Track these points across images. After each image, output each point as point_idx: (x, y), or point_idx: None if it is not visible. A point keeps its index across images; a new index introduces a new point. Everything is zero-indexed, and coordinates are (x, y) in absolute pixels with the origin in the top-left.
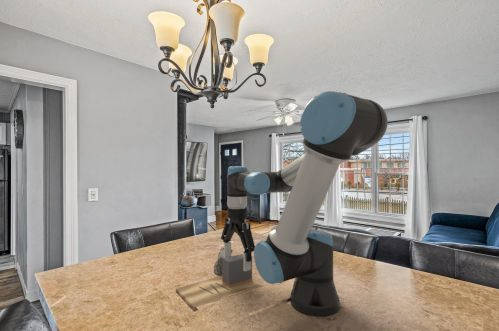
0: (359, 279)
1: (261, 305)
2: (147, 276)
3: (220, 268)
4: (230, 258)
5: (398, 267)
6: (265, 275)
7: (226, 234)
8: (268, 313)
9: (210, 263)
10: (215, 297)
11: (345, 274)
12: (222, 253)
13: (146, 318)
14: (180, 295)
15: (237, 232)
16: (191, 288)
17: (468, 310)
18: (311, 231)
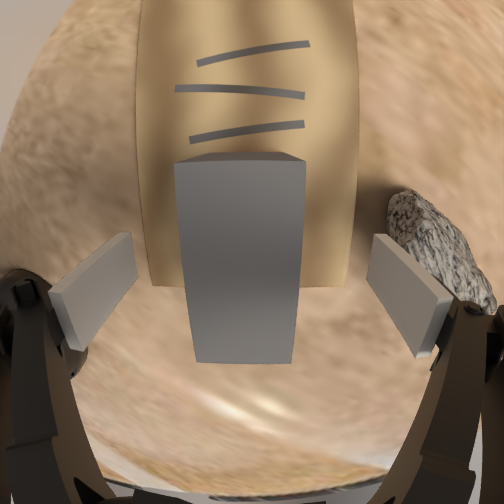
0: (122, 445)
1: (59, 203)
2: (495, 18)
3: (397, 214)
4: (253, 220)
5: (149, 485)
6: None
7: (477, 378)
8: (25, 196)
9: (491, 246)
10: (159, 60)
11: (153, 452)
12: (452, 273)
13: None
14: None
15: (35, 476)
16: (311, 14)
17: None
18: None
